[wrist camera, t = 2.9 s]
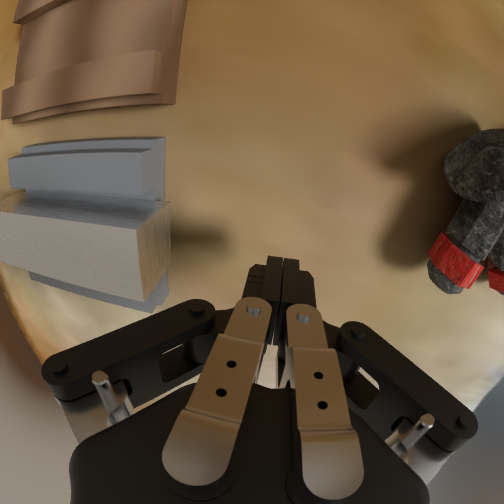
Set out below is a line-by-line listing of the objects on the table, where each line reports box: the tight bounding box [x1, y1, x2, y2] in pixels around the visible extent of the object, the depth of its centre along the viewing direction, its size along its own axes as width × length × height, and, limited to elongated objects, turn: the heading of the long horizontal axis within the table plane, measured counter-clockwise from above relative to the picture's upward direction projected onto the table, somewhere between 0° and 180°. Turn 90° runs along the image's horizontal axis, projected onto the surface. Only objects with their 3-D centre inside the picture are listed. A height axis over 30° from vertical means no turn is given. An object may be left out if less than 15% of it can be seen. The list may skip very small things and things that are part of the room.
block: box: [0, 192, 171, 302], centre depth 15 cm, size 14×4×4 cm, turn 84°
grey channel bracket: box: [8, 137, 169, 313], centre depth 17 cm, size 12×11×3 cm
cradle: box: [1, 0, 188, 124], centre depth 11 cm, size 13×11×3 cm
